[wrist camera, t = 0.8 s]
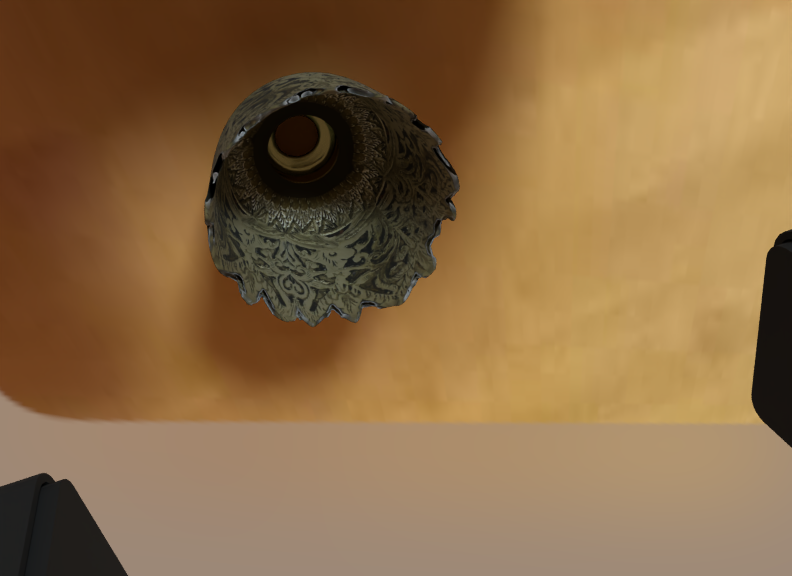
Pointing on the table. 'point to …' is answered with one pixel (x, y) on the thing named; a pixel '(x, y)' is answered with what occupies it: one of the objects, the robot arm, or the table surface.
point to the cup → (327, 200)
